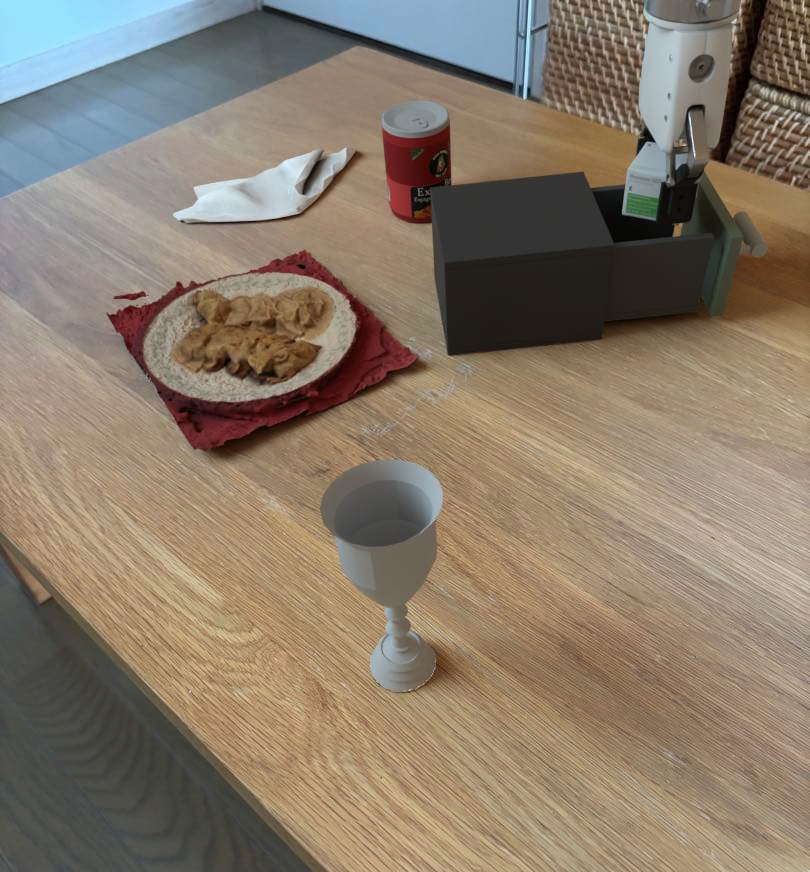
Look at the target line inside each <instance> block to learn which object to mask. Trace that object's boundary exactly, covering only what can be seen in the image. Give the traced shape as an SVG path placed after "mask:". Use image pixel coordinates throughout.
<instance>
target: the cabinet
mask: <svg viewBox="0 0 810 872" xmlns="http://www.w3.org/2000/svg"><path fill="white" fill-rule="evenodd" d="M591 188H592V187H591V186H590V183H589V182H588V178H587V177H586V174H585V172H584V171H576V172H575V171H574V172H566V173H565V172H564V173H557V174H548V175H537V176H536V175H535V176H527V177H519V178H507V179H500V180H498V179H497V180H490V181H479V182H471V183H470V182H469V183H460V184H451V185H450V186H441V187H431V188H430V194H431V214H432V221H431V232H432V234H431V235H432V251H433V253H432V254H433V273H434V275H433V276H434V282H435V283H434V284H435V289H436V295H437V300H438V305H439V306H438V307H439V312H440V318H441V324H442V331H443V335H444V341H445V347H446V352H447V356H455V355H463V354H473V353H483V352H493V351H502V350H503V351H504V350H512V349H513V350H514V349H521V348H522V349H523V348H531V347H542V346H549V345H551V346H552V345H559V344H569V343H578V342H579V343H580V342H589V341H599V340H602V339H603V336H604V335H603V334H604V328H605V327H604V326H605V322H606V321H605V313H606V305H607V298H608V290H609V283H610V275H611V268H612V260H613V252H614V246H615V245H614V242H613V240H612V238H611V235H610V233H609V231H608V228H607V226H606V224H605V221H604V219H603V216H602V214H601V212H600V209H599V207H598V205H597V202H596V200H595V198H594V195H593V193H592V190H591Z"/></svg>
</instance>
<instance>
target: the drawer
mask: <svg viewBox="0 0 810 872" xmlns="http://www.w3.org/2000/svg"><path fill="white" fill-rule="evenodd" d="M625 185H626V183H625V184H624V183H623V184H615V185H606V186H595V187H590V188H591V190H592V193H593V195H594V198H595V200H596V202H597V205H598V207H599V209H600V212H601V214H602V216H603V219H604V221H605V224H606V226H607V228H608V231H609V233H610V235H611V238H612V240H613V242H614V245H615V246H614V252H613V260H612V268H611V275H610V283H609V290H608V298H607V305H606V313H605V321H604V322H610V321H611V322H612V321H620V320H632V319H640V318H649V317H659V316H668V315H678V314H688V313H696V312H698V309H699V305H700V300H701V299H702V300H703V303H704V304H705V307H706V309H707V311H708V312H709V314H710V316H711V318H713V317H721V316H722V317H723V316H724V314H725V310H726V307H727V303H728V300H729V295H730V291H731V288H732V285H733V284H732V283H733V280H734V276H735V272H736V268H737V264H738V260H739V256H740V255H741V254H742V255H743V254H750V255H751V256H752V257H753V258H756V259H757V258H761V257H763V256H765V255H766V254H767V252H768V249H769V246H768V244H767V242H766V241H765V239H764V238H763V236H762V234H761V232H760V231H759V229H758V228H757V227H756V225H755V223H754V222H753V221H752V218H751V217H750V215H749V214H748V213H747V211H738V212H737V213H735V214H734V215H733V216H732V215H731V213H730V211H729V210H728V208H727V206H726V205H725V203H724V202H723V200H722V198H721V197H720V195H719V193H718V191H717V190H716V188H715V187H714V185H713V183H712V181H711V180H710V178H709V176H708V175H707V173H706V172H705V171H704V172H703V173H702V176H701V181H700V183H699V185H698V191H697V197H696V199H695V204H694V209H693V214H692V219H691V220H690V221H689V222H686V223H681V228H680V234H679V235H677V236H674V232H675V227H676V225H672V224H669V225H658V224H657V222H656V221H654V220H649V219H644V218H639V217H634V216H625V215H623V214H622V209H623V201H624V194H625ZM743 243H744V244H743Z"/></svg>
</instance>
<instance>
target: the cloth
mask: <svg viewBox="0 0 810 872" xmlns="http://www.w3.org/2000/svg"><path fill="white" fill-rule="evenodd" d="M357 151H358V150H357V148H354V147H351V146H346V147H343V149H341V150H339V151H338V152H334V153H330V154H327V155H323V153H324V152H325V149H324V147H321V148H316V149H314V150H311V151H309V152H308V153H305V154H301V155H297V156H295V157H291V158H287V159H284V160H283V161H282V162H281V163H280V164H278V165H277V166H276V167H271V168H268V169H265V170H263V171H261V172H260V173H258V174H257V175H254V176H250V177H245V178H238V179H237V178H236V179H230V180H229V179H228V180H221V181H216V182H211V183H205V184H200V185H197V186H194V187H193V191H194V193H195V196H196V198H197V200H196V201H195V202H194V204H193V205H192V206H189V207H186V208H184V209H181V210H177V211H176V212H173V214H172V216H173V217H174V218H175V219H176V220H177V221H179V222H181V221H182V222H184V223H185V224H193V223H229V222H230V223H232V222H248V221H251V222H252V221H267V220H272V219H280V218H284V217H290V216H294V215H299V214H301V213H303V212H304V211H305V210H306V209H307V208H309V206H311V205H312V204H313V203H314V202H316V200H318V198H319V197H320V196H322V193H324V191H325V190H326V189H327V187H328V186H329V185H330V184H331V182H332V181H333V179H334V178H335V177H336V176H337V174H339V173H340V172H341V171H342V170H343V169H344V168H345V166H346V165H347V164H348V162H349V161H350V160H351V159H352V157H353V156H354V155H355V154H356V152H357Z"/></svg>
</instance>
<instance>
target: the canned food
mask: <svg viewBox="0 0 810 872" xmlns="http://www.w3.org/2000/svg"><path fill="white" fill-rule="evenodd" d="M381 131H382V133H381V134H382V135H381V136H382V145H383V157H384V168H385V177H386V187H387V189H386V190H387V198H388V205H389V208H390V210H391V213H392V214H393V215H394V216H395V217H396V218H398V219H400V220H402V221H404V222H408V223H414V224H415V223H416V224H421V223H422V224H423V223H430V222H432V214H431V194H430V188H431V187H441V186H450V185H452V150H451V148H452V147H451V146H452V145H451V117H450V113H449V110H448V109H447V108H446V106H443V105H442V104H439V103H438V102H433V101H427V100H409V101H404V102H399V103H397V104H394V105H392V106H390V107H389V108H387V109H386V110H385V111H384V112H383V113H382V116H381Z"/></svg>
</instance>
